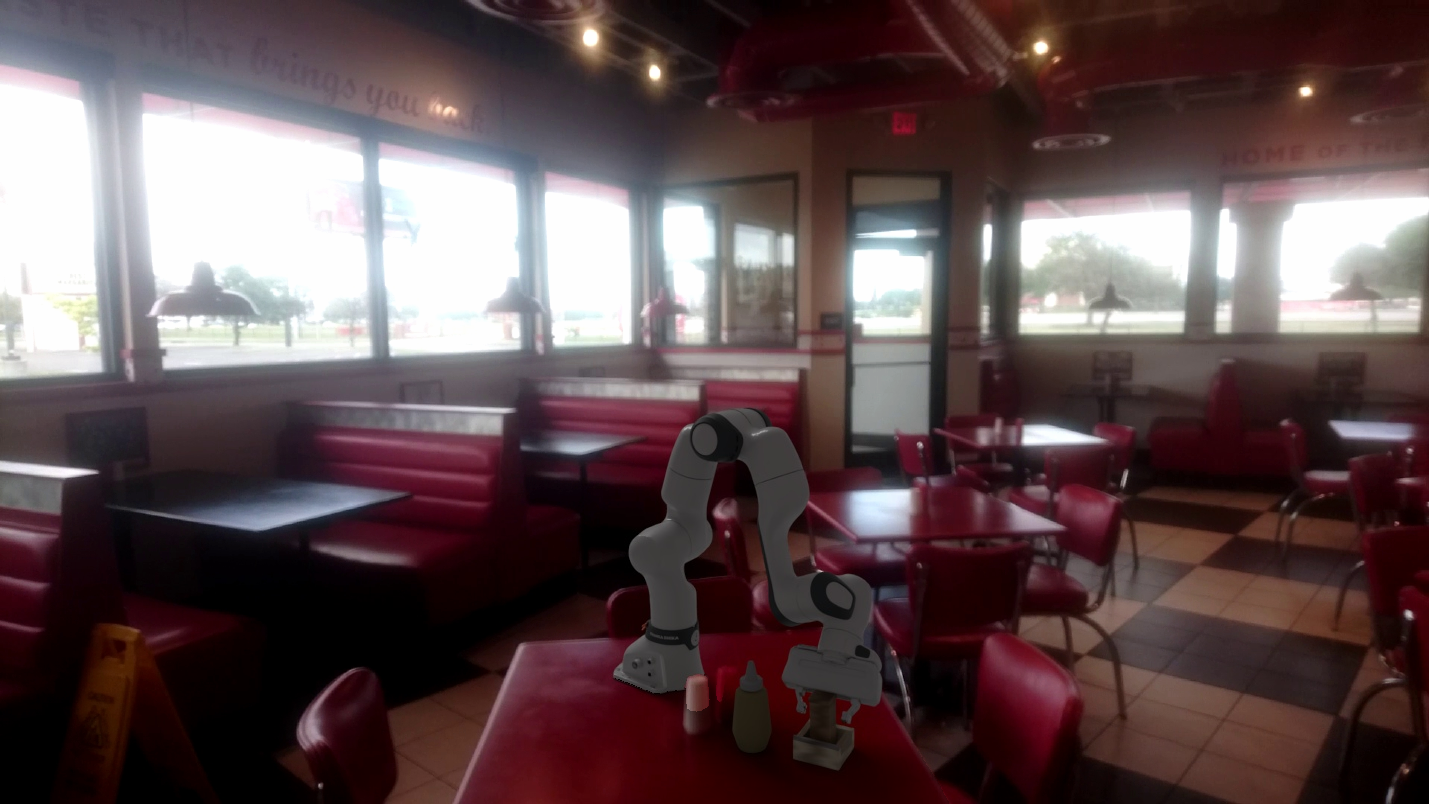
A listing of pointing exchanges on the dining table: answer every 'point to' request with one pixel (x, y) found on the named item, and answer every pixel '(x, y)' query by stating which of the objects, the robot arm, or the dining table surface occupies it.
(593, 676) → the dining table surface
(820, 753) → the frame
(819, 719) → the brown capped wooden post
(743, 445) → the robot arm
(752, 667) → the squeeze bottle
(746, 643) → the dining table surface
